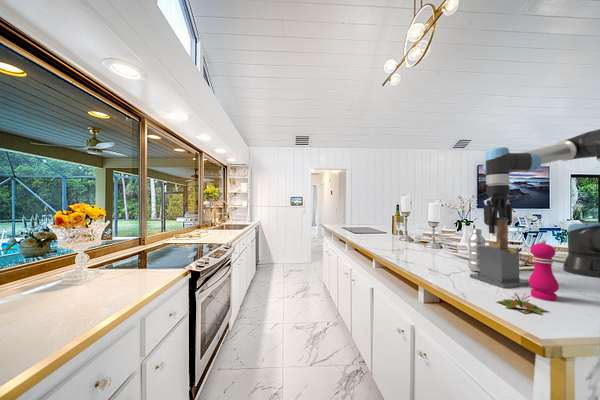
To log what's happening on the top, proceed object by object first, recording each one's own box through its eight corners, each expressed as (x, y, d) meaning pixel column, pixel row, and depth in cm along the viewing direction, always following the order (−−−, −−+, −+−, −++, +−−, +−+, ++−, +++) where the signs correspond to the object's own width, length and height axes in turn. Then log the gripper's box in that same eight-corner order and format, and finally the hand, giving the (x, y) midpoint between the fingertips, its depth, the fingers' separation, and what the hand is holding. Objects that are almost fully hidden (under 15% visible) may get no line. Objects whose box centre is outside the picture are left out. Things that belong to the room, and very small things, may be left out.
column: (497, 275, 102) (496, 217, 102) (508, 278, 97) (507, 217, 98) (489, 275, 101) (488, 217, 101) (500, 278, 96) (499, 217, 97)
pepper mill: (565, 302, 78) (564, 240, 78) (539, 300, 79) (538, 240, 79) (547, 294, 85) (546, 237, 85) (523, 292, 86) (522, 237, 86)
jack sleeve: (495, 275, 107) (494, 244, 108) (531, 285, 94) (530, 249, 94) (469, 277, 104) (469, 245, 105) (503, 288, 91) (503, 251, 91)
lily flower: (516, 299, 81) (516, 286, 81) (560, 315, 69) (560, 300, 69) (486, 302, 79) (486, 288, 79) (526, 319, 67) (525, 302, 68)
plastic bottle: (468, 268, 118) (467, 228, 119) (485, 270, 114) (485, 229, 115) (468, 271, 113) (467, 229, 114) (486, 274, 109) (485, 230, 110)
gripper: (504, 186, 105) (505, 239, 105) (472, 185, 102) (473, 240, 101) (523, 184, 98) (524, 241, 98) (489, 184, 94) (490, 243, 94)
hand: (498, 241), depth 99 cm, fingers closed on column, 4 cm apart
